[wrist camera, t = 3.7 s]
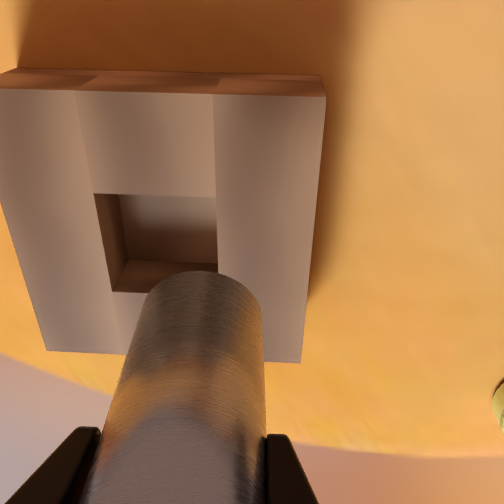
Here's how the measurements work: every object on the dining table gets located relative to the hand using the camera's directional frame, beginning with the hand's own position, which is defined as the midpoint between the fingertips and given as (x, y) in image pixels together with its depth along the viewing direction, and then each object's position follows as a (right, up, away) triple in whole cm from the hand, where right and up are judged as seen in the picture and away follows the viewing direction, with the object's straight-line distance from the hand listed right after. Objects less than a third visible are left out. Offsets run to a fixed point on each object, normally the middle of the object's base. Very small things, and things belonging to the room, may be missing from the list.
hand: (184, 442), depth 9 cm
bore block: (-2, +6, +12) cm, 14 cm away
